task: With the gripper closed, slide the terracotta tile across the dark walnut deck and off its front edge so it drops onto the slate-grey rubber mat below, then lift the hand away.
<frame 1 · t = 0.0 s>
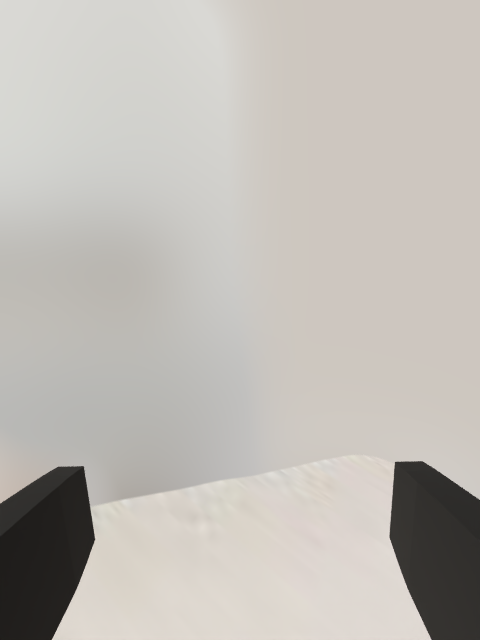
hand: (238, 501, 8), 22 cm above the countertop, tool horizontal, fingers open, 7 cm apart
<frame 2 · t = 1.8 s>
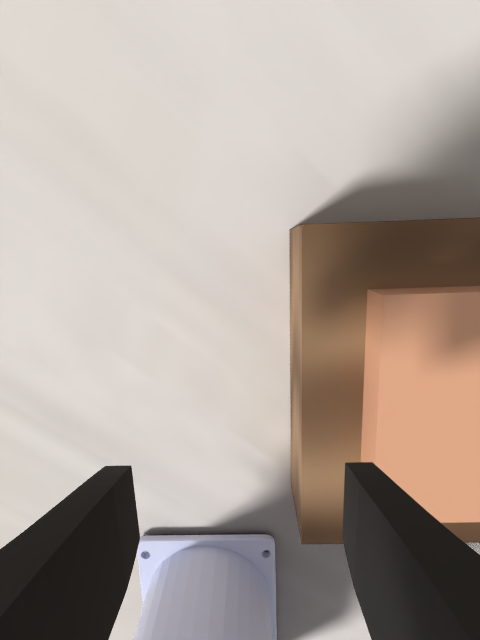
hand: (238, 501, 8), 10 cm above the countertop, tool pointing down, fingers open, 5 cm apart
deck: (387, 364, 18), on the countertop
tile: (437, 397, 14), point 4 cm above the countertop, touching deck
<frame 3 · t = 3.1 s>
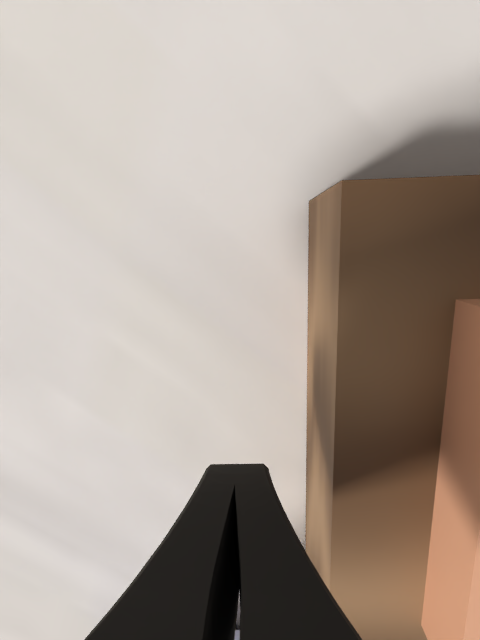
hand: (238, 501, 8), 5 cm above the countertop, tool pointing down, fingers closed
deck: (449, 404, 12), on the countertop
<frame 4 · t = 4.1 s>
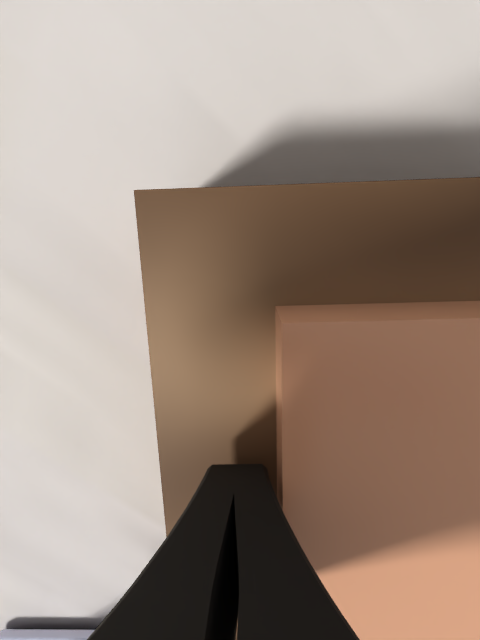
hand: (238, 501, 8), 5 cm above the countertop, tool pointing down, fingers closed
deck: (327, 407, 12), on the countertop
tile: (399, 483, 9), point 4 cm above the countertop, touching deck, gripper
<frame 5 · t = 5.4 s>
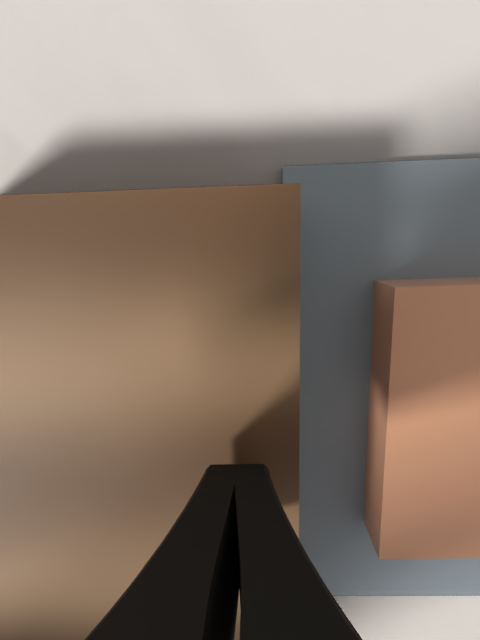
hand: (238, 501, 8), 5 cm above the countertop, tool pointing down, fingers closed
deck: (145, 410, 13), on the countertop
mat: (454, 404, 12), on the countertop
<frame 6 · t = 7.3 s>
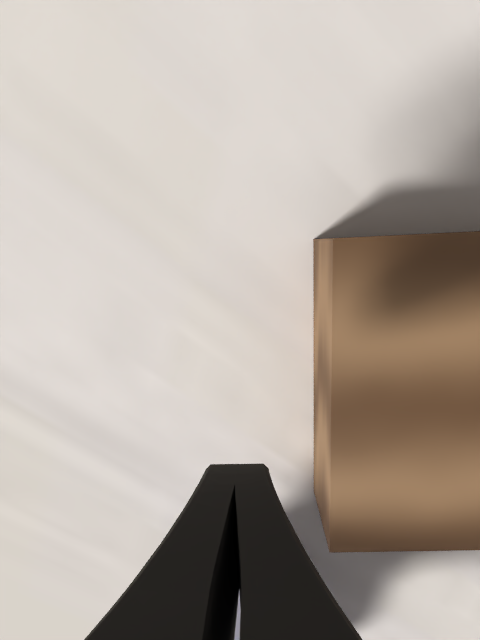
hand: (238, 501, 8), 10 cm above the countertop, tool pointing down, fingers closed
deck: (410, 372, 18), on the countertop
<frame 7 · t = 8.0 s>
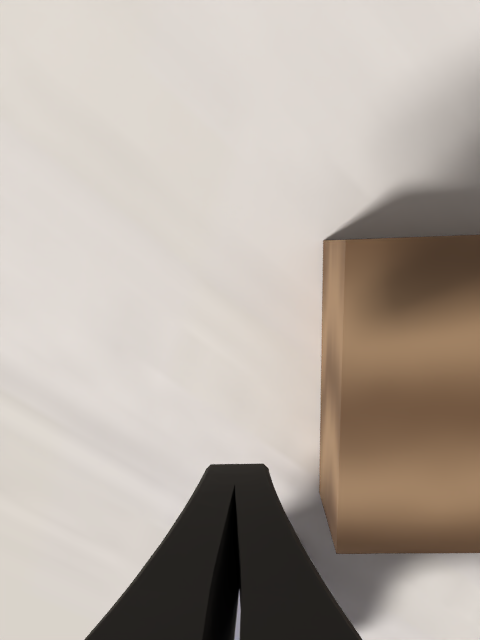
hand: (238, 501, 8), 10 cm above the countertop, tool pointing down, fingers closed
deck: (417, 374, 18), on the countertop
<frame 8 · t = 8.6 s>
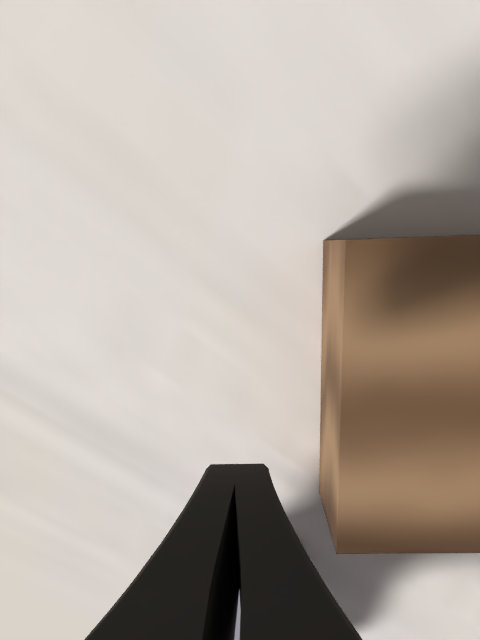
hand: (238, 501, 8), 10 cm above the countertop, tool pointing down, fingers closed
deck: (417, 374, 18), on the countertop
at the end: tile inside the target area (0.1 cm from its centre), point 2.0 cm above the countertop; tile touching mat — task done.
